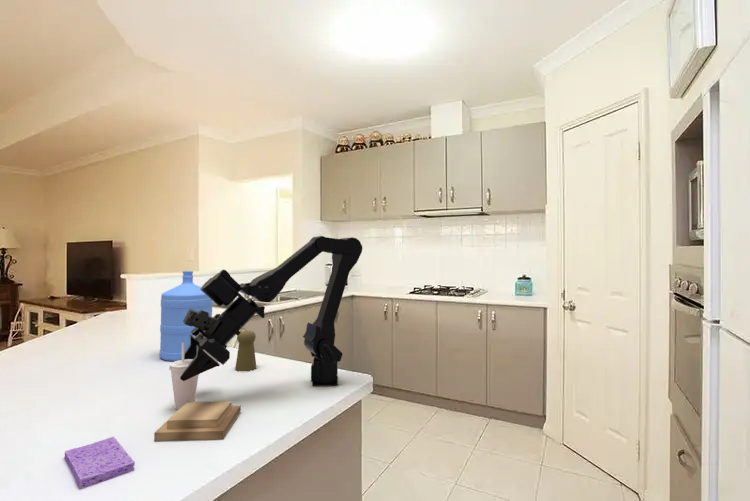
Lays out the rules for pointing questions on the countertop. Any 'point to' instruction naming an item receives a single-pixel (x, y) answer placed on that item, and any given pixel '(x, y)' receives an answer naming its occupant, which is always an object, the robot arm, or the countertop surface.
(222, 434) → the walnut base
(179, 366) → the smoothie
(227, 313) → the robot arm
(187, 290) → the water jug
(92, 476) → the sponges
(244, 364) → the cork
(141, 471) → the countertop surface
